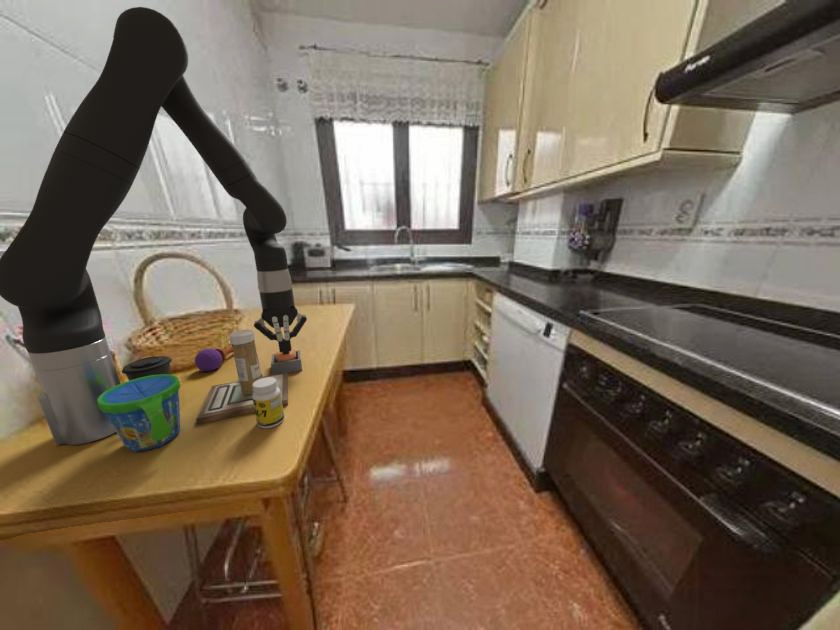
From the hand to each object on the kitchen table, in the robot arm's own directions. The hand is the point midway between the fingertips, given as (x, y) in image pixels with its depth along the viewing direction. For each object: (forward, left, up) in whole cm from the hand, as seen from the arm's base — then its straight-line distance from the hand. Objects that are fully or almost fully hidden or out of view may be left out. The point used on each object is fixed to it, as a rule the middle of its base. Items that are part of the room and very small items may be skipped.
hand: (286, 353), depth 82 cm
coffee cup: (-26, -7, -4) cm, 27 cm away
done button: (0, 0, -4) cm, 4 cm away
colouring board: (-8, -13, -4) cm, 16 cm away
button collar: (0, 0, -4) cm, 4 cm away
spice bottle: (-7, -13, -3) cm, 15 cm away
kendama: (-16, +14, -5) cm, 22 cm away
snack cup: (-22, -22, -4) cm, 32 cm away
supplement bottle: (-3, -25, -4) cm, 26 cm away
